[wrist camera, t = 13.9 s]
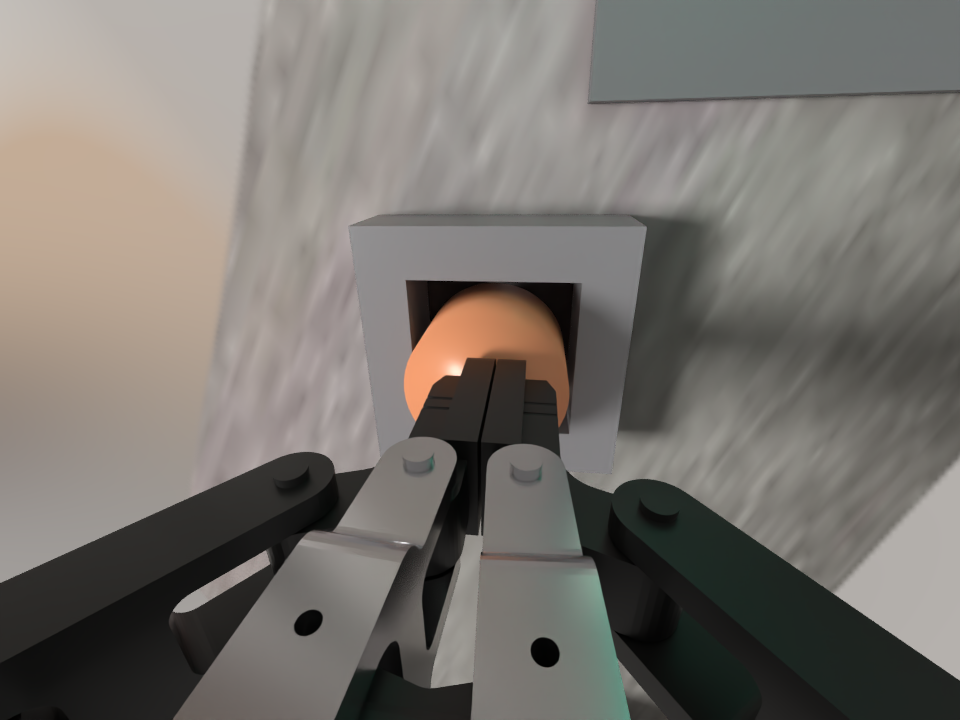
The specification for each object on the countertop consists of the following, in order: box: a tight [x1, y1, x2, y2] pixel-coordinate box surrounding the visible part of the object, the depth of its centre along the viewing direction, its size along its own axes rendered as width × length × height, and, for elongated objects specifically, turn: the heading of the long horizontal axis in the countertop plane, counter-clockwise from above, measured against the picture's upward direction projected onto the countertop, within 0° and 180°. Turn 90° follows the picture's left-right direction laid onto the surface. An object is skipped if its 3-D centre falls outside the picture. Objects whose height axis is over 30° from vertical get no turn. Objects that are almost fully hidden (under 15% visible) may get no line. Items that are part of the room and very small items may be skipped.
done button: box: [404, 283, 569, 427], centre depth 13 cm, size 4×4×3 cm
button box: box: [348, 215, 647, 474], centre depth 14 cm, size 8×8×2 cm
